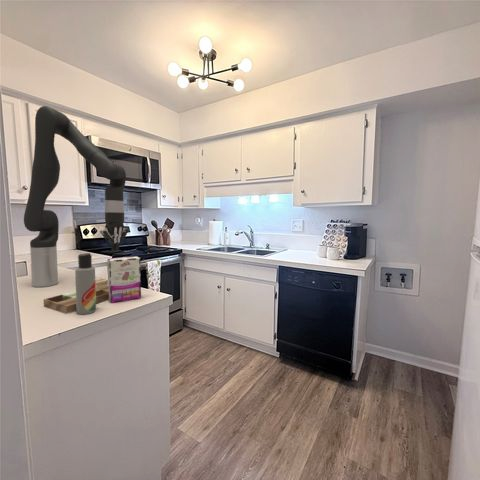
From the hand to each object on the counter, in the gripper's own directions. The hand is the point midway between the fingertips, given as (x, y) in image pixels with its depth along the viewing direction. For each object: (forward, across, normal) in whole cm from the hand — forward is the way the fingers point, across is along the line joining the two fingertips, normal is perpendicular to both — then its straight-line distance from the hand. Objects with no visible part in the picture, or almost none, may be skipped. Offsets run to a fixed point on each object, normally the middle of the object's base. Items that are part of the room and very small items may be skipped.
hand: (115, 251), depth 111 cm
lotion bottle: (+17, +23, +13) cm, 31 cm away
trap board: (+17, +16, +3) cm, 23 cm away
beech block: (+14, +8, 0) cm, 16 cm away
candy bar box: (+17, +8, +14) cm, 23 cm away
